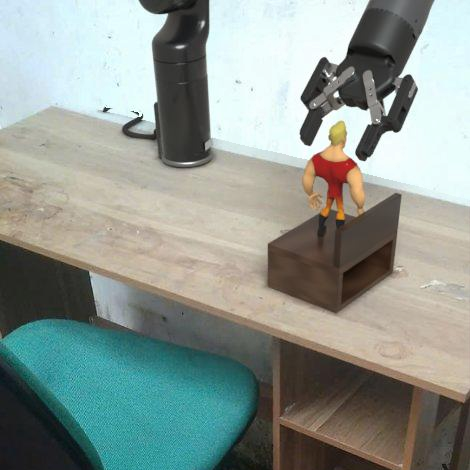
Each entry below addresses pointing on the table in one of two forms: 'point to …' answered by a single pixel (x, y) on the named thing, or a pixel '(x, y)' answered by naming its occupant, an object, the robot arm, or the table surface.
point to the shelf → (336, 256)
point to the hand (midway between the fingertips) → (331, 150)
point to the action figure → (334, 177)
